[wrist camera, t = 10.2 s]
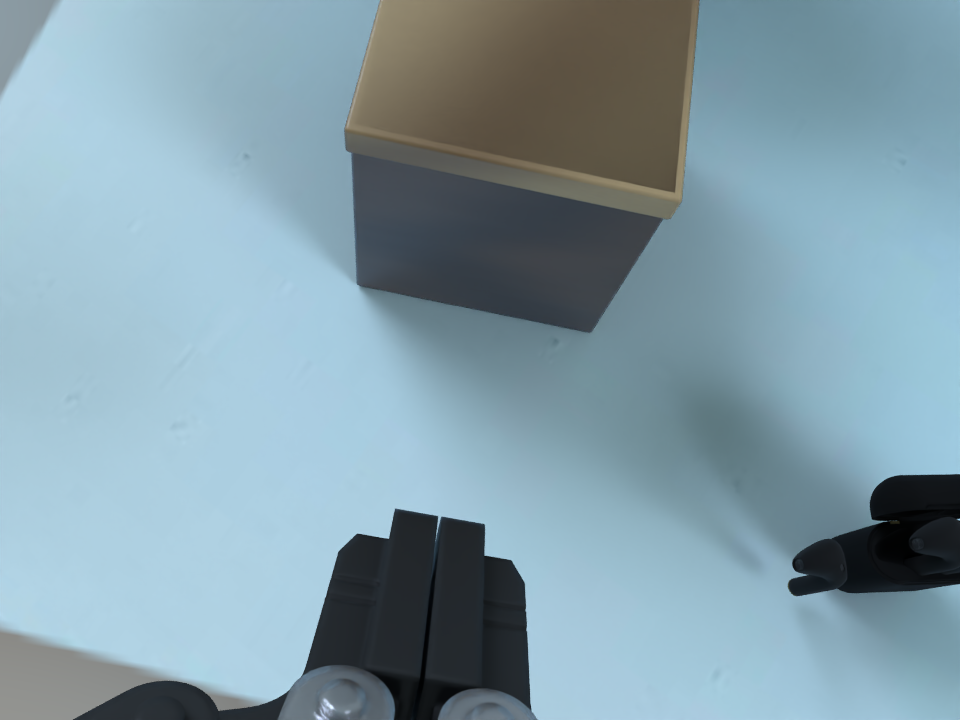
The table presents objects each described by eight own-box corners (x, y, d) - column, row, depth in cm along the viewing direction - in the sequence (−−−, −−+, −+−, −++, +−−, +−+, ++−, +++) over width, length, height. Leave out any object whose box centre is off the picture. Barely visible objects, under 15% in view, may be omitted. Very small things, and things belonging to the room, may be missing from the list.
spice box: (351, 288, 24) (343, 129, 17) (407, 65, 27) (419, -147, 20) (594, 337, 24) (683, 202, 17) (622, 112, 27) (707, -80, 20)
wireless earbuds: (746, 600, 22) (847, 580, 17) (732, 506, 23) (824, 463, 18) (986, 591, 23) (1142, 569, 18) (964, 500, 24) (1108, 459, 19)
